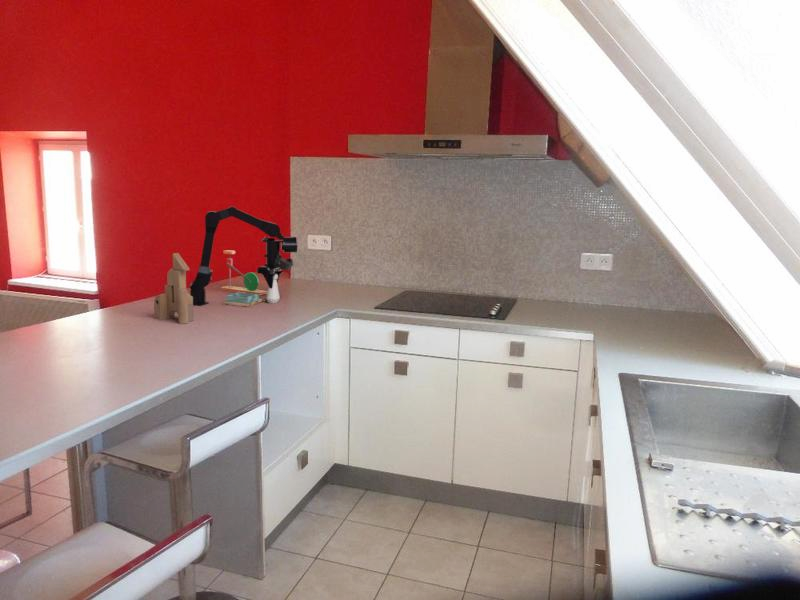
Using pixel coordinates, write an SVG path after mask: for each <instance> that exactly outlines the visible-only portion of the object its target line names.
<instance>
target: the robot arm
mask: <svg viewBox="0 0 800 600" xmlns="http://www.w3.org/2000/svg"><path fill="white" fill-rule="evenodd" d="M231 217H233V218H236V219H237V220H240V221H242V222H244V223H247V224H249V225H251V226H253V227H256V228H257V229H259V230H260V231H262V232H263V233H265V234H266V235H268V236H269V237H267V236H266V235H265V236H264V238H262V239H261V242H262V243H263V242H264V243H266V244H265V248H266V249H265V250H266V252H265V253H266V254H264V258H266V259H265V260H266V263H264V265H261V266H258V267H257V268H256V273H257V274H260V275H262V276H263V277H264V280H265V281H266V283H267V286H269V288H272V287H273V279H274V276H275V275H276V274H277V275H278V279H277V284H279V280H280V277H281V275H282V274H283V273H284V272H285V271H290V270H291V269H292V267H293V266H294V261H293V258H291V257H288V258H287V259H286V258H283V255H282V254H281V253H280V251H283V253H297V252H298V244H297V243H298V240H297V236H290V237H289V236H284V235H283V234H282V233H281V228H280V226H279V225H278V224H277V223H274V222H271V221H267V220H263V219H260V218H258V217H255V216H253V215H252V214H249V213H247V212H244V211H243V210H240V209H237V208H236V207H235V206H229V207H228V208H224V209H221V210H218V211H216V210H210V211H208V212H207V213H206V214H205V217H204V222H205V224H204V226H205V235H204V241H203V246H202V252H201V259H200V264H199V268H198V270H197V272H196V276H195V279H194V280H193V281H192V282H191V283H190V285H189V289H190V290H189V294H190V295H191V296H192V297H193V306H203V305H207V304H209V301H206V300H207V299H206V298H207V295H206V288H205V287H207V286H208V285H209V283H210V282H212V279H213V278H212V275H213V271H214V270H213V269H210V268H211V267H210V263H211V257H212V253H213V252H212V251H213V244H214V240H215V234H216V231H217V229H218V226H219V223H220V221H223V220H226V219H229V218H231ZM275 239H276V240H275ZM277 239H278V240H277Z"/></svg>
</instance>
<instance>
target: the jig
mask: <svg viewBox="0 0 800 600" xmlns="http://www.w3.org/2000/svg"><path fill="white" fill-rule="evenodd" d="M266 297H267V296H260V295H259V294H251V293H239V292H233V293H232V294H228V295H225V300H224V301H222V305H223V304H228V305H227V306H232V305H242V306H250V307H252V306H251V305H253V304H255V305H257V304H256V303H258V304H260V303H259V302H261V301H264V300H267V298H266ZM264 302H265V301H264ZM261 303H262V302H261ZM242 306H241V307H242ZM253 306H254V305H253Z"/></svg>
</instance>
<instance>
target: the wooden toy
mask: <svg viewBox="0 0 800 600" xmlns="http://www.w3.org/2000/svg"><path fill="white" fill-rule="evenodd" d="M190 270H191V269H190V267H189V266H188V264H187V263H186V262H185V260H184V259H183V258H182V256H181V255H180V253H179V252H176V253H175V252H174V253H172V268H170V269H169V270H168V271H167V274H166V275H167V277H166V278H167V284H165V285H164V293H161V294H158V295H156V296H155V297H154V301H153V307H154V308H153V309H154V311H153V312H154V320H158V319H159V320H158V321H162V320H167V319H171V318H175V314H177V315H178V324H180V325H185V324H188V323H189V321H190V322H193V321H194V305H193V297H192V296H191V295H190V292H188V288H187V274H186V273H187V271H190Z"/></svg>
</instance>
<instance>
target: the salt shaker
mask: <svg viewBox="0 0 800 600" xmlns="http://www.w3.org/2000/svg"><path fill="white" fill-rule="evenodd" d="M277 279H278V275H277V274H276V275H275V276H274V279H273V287H272V288H269V286H268V285H267V286H268V287H267V290H266V291H267V294H266V296H265V297H266V298H267V303H268V302H269V303H268V304H270V303H276V304H278V303H279V301H280V298H281V297H280V290H279V287H278V285H279V284H278V283H277ZM277 302H278V303H277Z"/></svg>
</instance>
